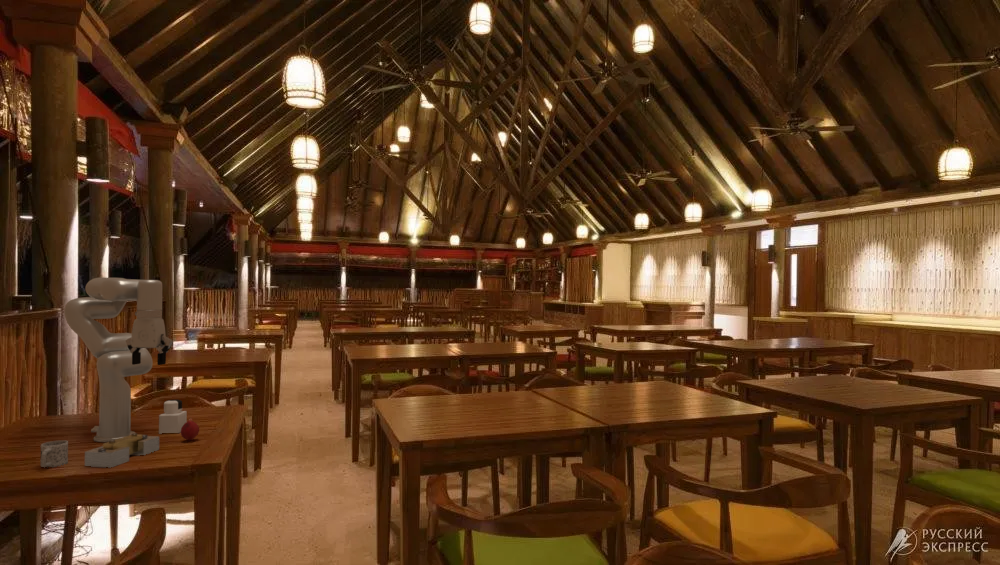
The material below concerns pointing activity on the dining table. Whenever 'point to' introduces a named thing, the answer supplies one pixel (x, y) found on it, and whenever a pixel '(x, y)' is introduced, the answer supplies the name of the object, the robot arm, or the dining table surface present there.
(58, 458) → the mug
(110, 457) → the block
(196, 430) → the onion
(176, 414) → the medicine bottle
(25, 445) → the dining table surface
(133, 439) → the tan block
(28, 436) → the dining table surface
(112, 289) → the robot arm
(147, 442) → the block
